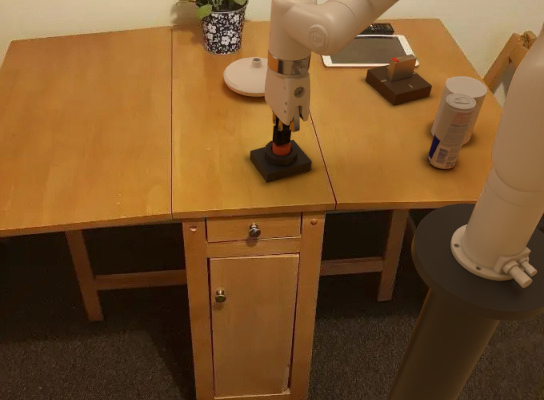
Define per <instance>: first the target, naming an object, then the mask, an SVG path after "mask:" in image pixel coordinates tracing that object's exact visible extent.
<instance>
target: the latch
mask: <svg viewBox="0 0 544 400" xmlns="http://www.w3.org/2000/svg"><path fill="white" fill-rule="evenodd" d="M417 60H418V57H417V56H415V55H414V54H412V53H410V54H406V55H402V56H397V57H391V58H390V59H389V63H388V65H389V68H388V72H387V77H386V78H387V79H389V80H390V81H391V82H392V81H396V80H400V79H404V78H409V77H412V76H413V72H415V68H416V63H417Z"/></svg>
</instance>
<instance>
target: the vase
mask: <svg viewBox="0 0 544 400" xmlns="http://www.w3.org/2000/svg"><path fill="white" fill-rule="evenodd" d="M267 62H268V57H262V56H250V57H249V56H248V57H243V58H239V59H237V60H234V61H232V62H231V63H230V64H229V65H228V66H226V67H225V69H224V71H223V80H224V83H225V84H226V87H228V88H229V89H230V91H233V92H235V93H237V94H240V95H243V96H248V97H265V81H266V73H267Z"/></svg>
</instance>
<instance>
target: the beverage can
mask: <svg viewBox="0 0 544 400" xmlns="http://www.w3.org/2000/svg"><path fill="white" fill-rule="evenodd" d="M475 106H476V101H475V100H474V99H473V98H472V97H470V96H468V95H465V94H460V93H454V94H450V95H448V96H447V97H446V100H445V102H444V105H443V108H442V112H441V115H440V118H439V121H438V125H437V128H436V131H435V134H434V137H433V138H432V141H431V143H430V148H429V151H428V154H427V162H428V163H429V164H430V165H432V166H433V167H435V168H437V169H442V170H449V169H452V168H454V167H455V166H456V164H457V162H458V158H459V155H460V152H461V149H462V147H463V145H464V144H463V141H464V138H465V136H466V133H467V130H468V127H469V124H470V121H471V119H472V116H473V113H474V110H475ZM462 144H463V145H462Z"/></svg>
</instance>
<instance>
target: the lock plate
mask: <svg viewBox="0 0 544 400" xmlns="http://www.w3.org/2000/svg"><path fill="white" fill-rule="evenodd" d="M388 68H389V64H385V65H382V66H377V67H373V68H368V69H367V71H366V76H365V81H366V82H367V83H368V84H369V85H370V86H371V87H372V88H374V90H376V91H377V92H378V93H379V94H380V95H381V96H382V97H383V98H385V100H387V101H388V102H389V103H391V105H393V106H397V105H401V104H404V103H410V102H413V101H416V100H420V99H424V98H428V97H429V98H430V95H431V93H432V92H431V91H432V88H433V85H432V84H431V83H430V82H429V81H427V80H426V79H424V78H423V77H422V76H421V75H419V74H418V72H417V71H414V72H413V76H412V77H409V78H404V79H400V80H396V81H392V82H391V81H390V80H389V79H387V78H386V77H387V72H388Z"/></svg>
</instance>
